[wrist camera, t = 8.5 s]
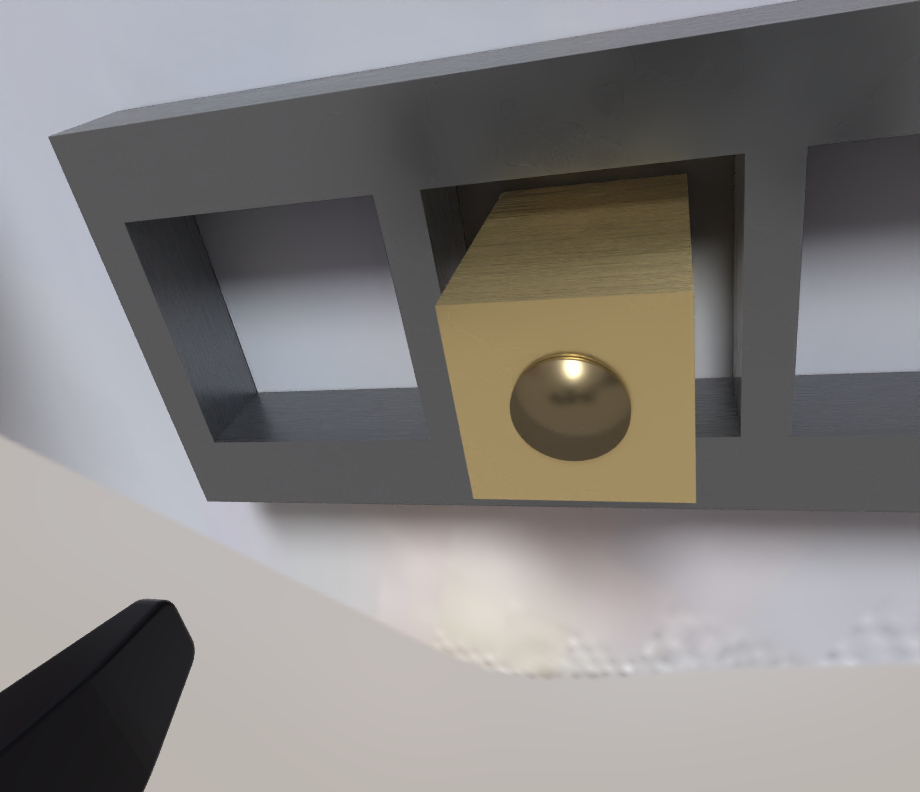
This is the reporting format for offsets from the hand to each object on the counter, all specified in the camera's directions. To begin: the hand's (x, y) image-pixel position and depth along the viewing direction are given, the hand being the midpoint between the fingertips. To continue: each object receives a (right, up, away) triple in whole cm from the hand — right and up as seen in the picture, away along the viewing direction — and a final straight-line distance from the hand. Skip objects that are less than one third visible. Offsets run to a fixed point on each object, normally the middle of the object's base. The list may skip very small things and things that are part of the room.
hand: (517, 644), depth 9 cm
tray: (+3, +6, +9) cm, 11 cm away
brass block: (+3, +6, +9) cm, 11 cm away
